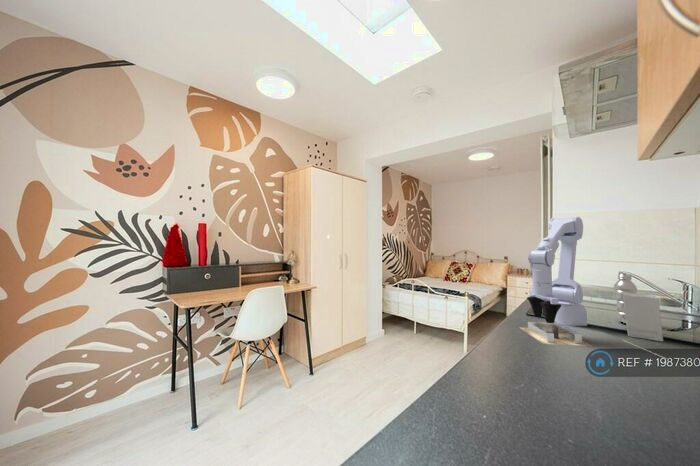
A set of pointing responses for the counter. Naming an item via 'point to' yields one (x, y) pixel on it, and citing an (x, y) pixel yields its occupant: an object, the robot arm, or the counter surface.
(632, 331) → the skincare box
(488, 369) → the counter surface
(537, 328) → the c link
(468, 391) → the counter surface
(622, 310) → the plastic bottle
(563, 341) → the hook board
